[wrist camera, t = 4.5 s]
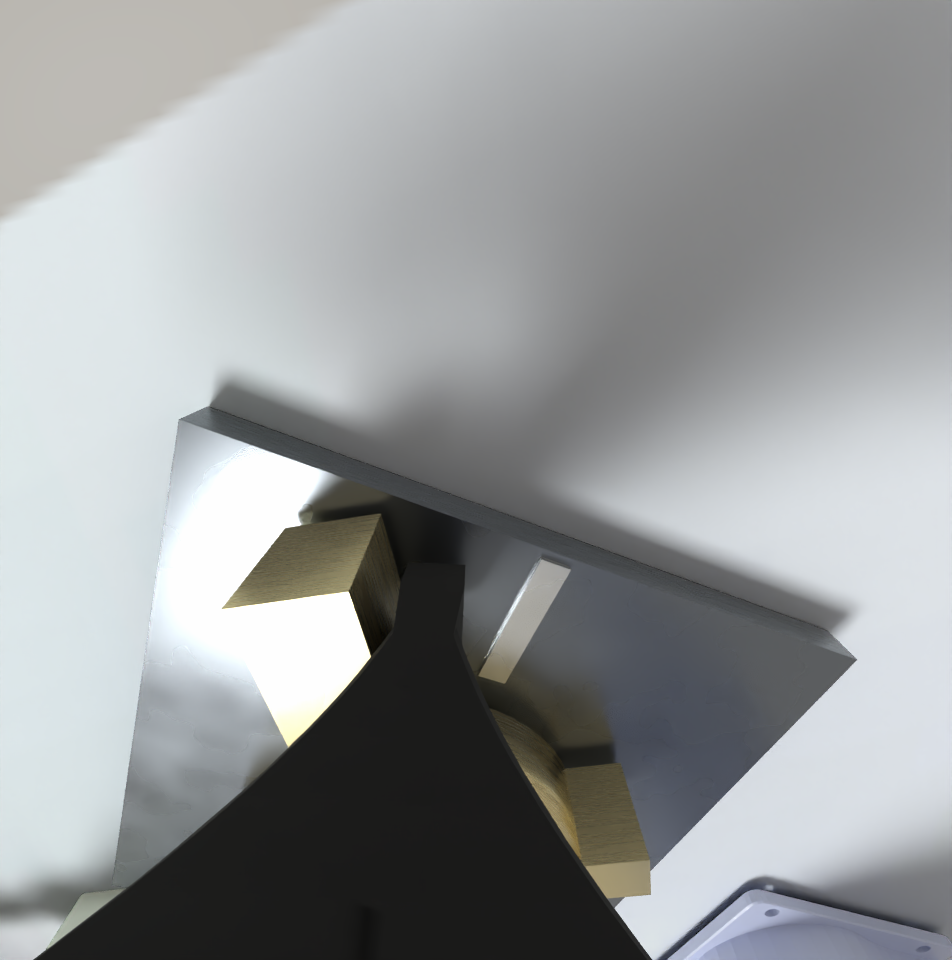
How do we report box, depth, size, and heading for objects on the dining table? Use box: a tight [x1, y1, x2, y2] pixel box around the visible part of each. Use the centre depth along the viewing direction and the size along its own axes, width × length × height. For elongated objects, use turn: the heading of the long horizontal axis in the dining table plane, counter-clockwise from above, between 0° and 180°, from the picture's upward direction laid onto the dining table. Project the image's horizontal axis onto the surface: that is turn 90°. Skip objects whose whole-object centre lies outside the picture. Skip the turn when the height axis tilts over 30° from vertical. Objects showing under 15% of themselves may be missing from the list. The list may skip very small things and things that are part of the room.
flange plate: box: [112, 407, 857, 908], centre depth 12 cm, size 16×18×4 cm
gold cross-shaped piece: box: [221, 513, 651, 899], centre depth 11 cm, size 14×11×3 cm
